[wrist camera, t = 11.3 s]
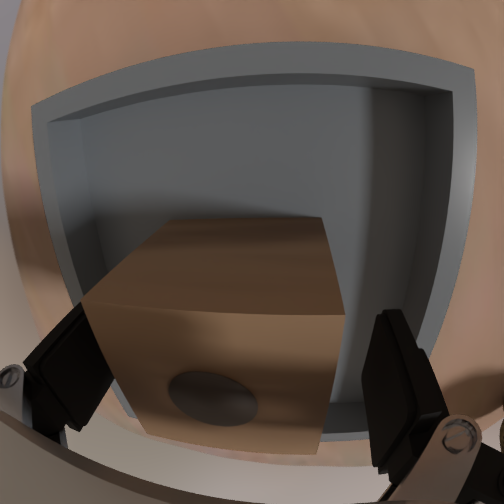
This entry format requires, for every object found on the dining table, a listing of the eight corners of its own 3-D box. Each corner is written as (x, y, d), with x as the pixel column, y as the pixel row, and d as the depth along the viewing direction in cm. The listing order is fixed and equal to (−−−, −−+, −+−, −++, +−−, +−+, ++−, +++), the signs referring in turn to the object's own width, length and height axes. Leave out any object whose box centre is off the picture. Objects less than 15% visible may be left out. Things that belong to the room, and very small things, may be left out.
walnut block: (169, 219, 12) (78, 301, 6) (321, 217, 11) (346, 317, 5) (192, 335, 14) (146, 435, 8) (314, 341, 13) (316, 456, 8)
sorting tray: (75, 103, 11) (31, 106, 8) (435, 78, 8) (474, 69, 5) (144, 384, 18) (128, 416, 15) (381, 399, 15) (388, 436, 13)
